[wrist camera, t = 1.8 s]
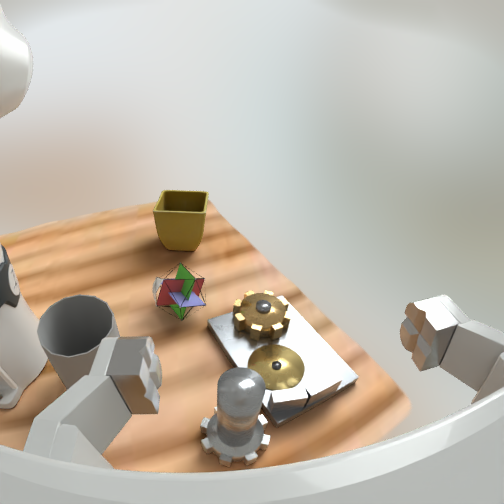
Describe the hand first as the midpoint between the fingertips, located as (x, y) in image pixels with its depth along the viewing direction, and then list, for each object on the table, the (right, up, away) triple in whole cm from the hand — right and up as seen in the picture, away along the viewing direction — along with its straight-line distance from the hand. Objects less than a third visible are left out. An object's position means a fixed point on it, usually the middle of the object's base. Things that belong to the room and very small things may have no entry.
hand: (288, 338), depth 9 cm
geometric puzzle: (-11, -6, +34) cm, 36 cm away
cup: (-19, -13, +22) cm, 32 cm away
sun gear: (0, -8, +33) cm, 34 cm away
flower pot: (-14, +4, +48) cm, 50 cm away
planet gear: (-3, -17, +19) cm, 25 cm away
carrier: (+2, -11, +29) cm, 31 cm away
